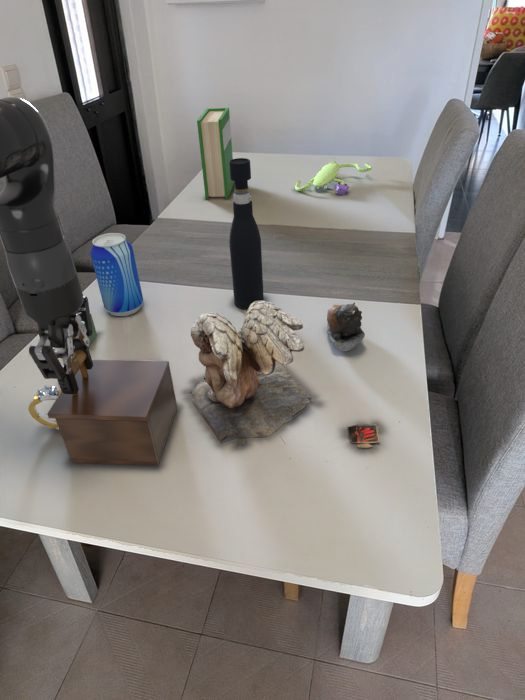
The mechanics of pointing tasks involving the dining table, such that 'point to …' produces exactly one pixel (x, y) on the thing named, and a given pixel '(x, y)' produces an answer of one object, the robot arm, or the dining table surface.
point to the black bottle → (244, 240)
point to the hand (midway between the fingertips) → (78, 379)
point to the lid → (111, 390)
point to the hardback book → (216, 151)
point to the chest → (122, 434)
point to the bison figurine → (344, 326)
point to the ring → (44, 394)
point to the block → (93, 331)
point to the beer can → (116, 274)
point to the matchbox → (363, 434)
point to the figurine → (331, 177)
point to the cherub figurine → (248, 372)
